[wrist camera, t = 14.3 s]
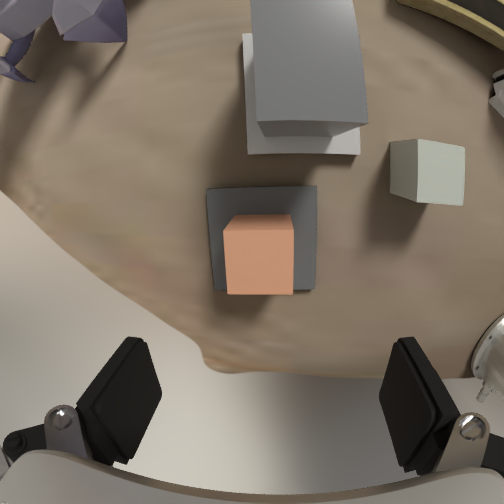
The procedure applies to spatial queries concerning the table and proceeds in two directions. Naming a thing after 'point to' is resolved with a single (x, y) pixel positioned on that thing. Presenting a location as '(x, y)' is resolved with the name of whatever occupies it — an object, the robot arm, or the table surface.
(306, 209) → the mat
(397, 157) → the grey block
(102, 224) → the table surface
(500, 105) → the white curved block
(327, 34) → the mounted unit
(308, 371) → the table surface
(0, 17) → the robotic device
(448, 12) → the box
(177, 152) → the table surface
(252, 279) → the terracotta block
